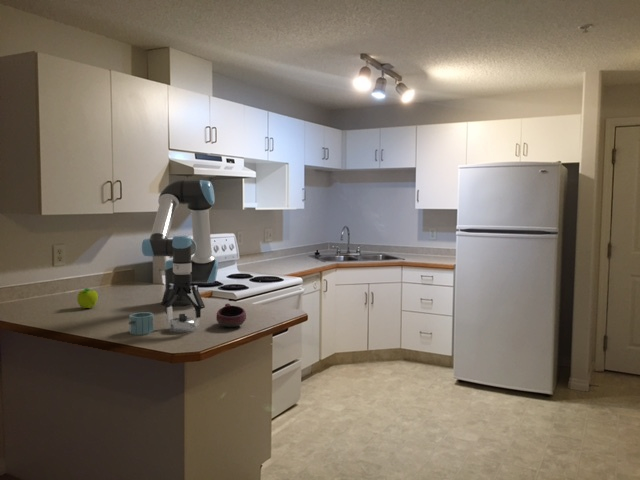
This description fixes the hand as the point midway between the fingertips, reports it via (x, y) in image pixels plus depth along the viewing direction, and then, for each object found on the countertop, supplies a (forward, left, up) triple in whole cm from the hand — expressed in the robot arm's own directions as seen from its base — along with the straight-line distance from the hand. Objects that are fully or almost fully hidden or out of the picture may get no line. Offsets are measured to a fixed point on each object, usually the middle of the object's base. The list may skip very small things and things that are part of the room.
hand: (183, 323), depth 222 cm
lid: (0, 0, -3) cm, 3 cm away
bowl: (-13, +14, -3) cm, 19 cm away
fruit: (-14, -68, -3) cm, 70 cm away
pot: (+10, -13, -2) cm, 16 cm away
